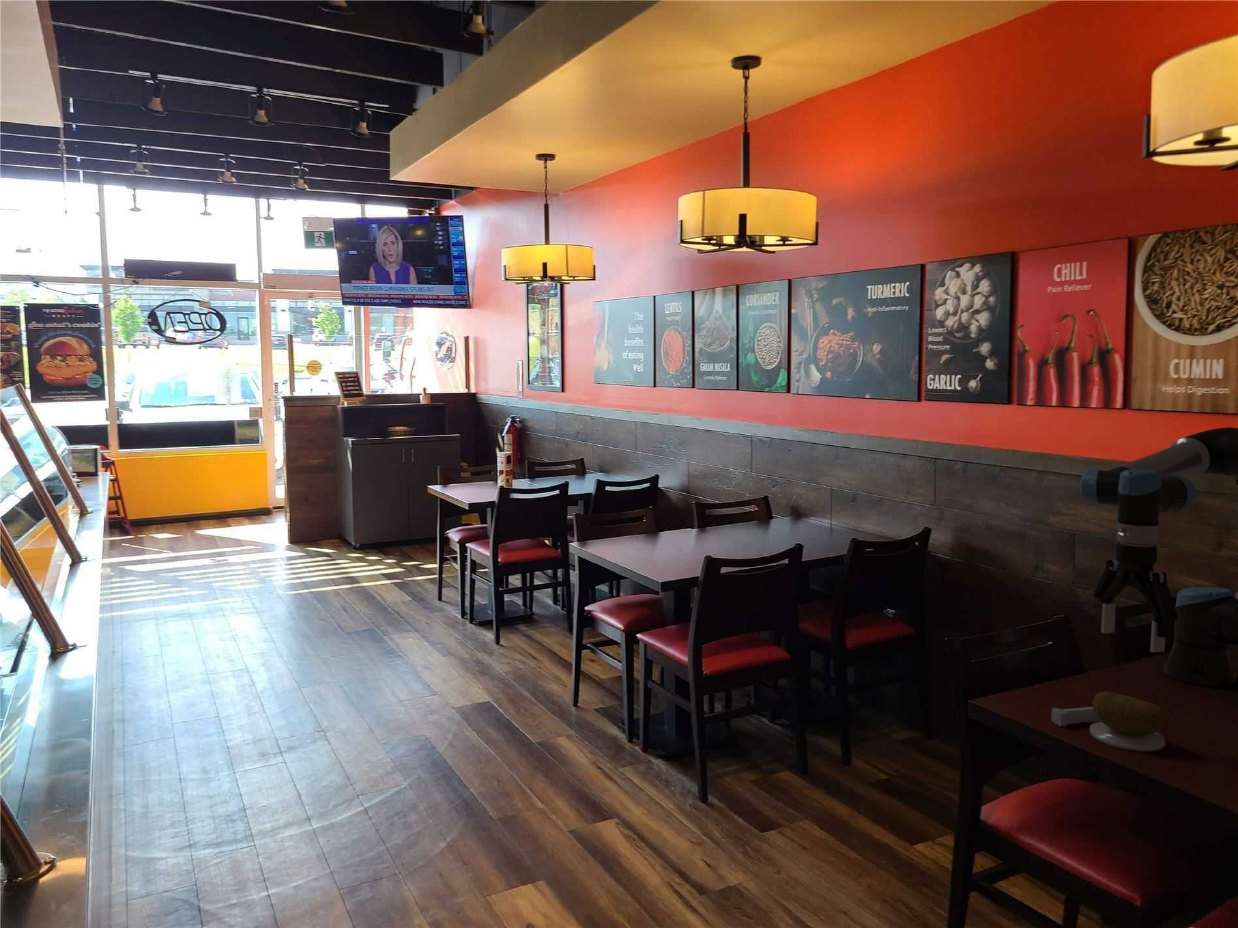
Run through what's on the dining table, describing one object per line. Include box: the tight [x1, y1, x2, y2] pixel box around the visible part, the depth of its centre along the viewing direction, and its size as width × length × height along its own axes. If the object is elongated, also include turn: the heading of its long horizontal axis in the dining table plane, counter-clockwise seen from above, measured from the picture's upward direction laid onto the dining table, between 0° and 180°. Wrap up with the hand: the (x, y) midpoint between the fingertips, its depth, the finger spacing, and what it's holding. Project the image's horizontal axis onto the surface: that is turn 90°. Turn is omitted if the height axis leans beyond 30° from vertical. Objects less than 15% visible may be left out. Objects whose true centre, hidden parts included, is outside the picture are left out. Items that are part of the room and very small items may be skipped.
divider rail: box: [1050, 706, 1101, 727], centre depth 196 cm, size 24×3×3 cm, turn 101°
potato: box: [1092, 691, 1168, 736], centre depth 186 cm, size 10×14×8 cm
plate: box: [1089, 721, 1166, 752], centre depth 187 cm, size 14×14×1 cm
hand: (1131, 641), depth 186 cm, fingers open, 13 cm apart
